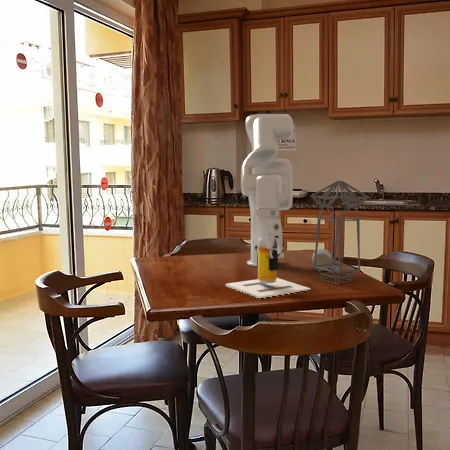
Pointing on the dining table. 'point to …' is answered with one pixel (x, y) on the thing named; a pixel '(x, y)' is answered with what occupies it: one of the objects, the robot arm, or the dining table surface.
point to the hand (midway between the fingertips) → (267, 267)
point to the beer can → (265, 263)
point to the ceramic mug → (323, 260)
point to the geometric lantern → (338, 226)
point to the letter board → (267, 288)
